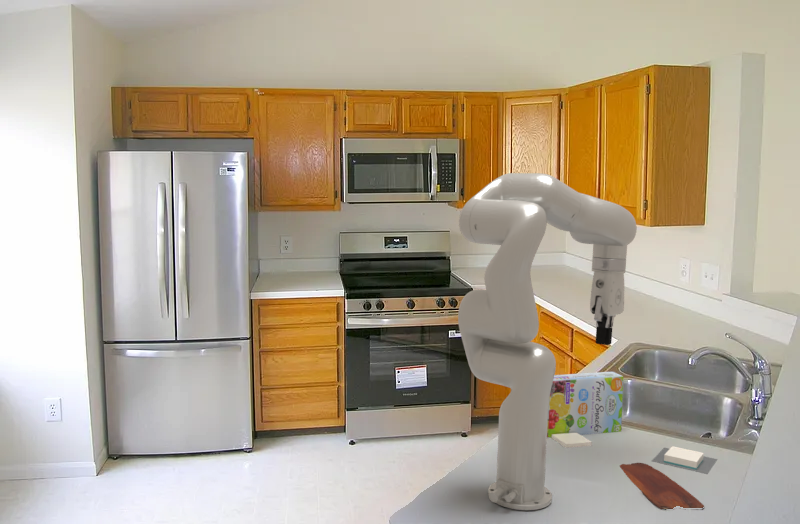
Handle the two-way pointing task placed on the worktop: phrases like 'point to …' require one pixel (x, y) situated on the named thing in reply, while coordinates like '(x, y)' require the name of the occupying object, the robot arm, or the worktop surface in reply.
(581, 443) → the tile
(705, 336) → the worktop surface
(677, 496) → the wooden tablet
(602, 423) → the snack box
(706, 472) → the mat
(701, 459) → the tile
